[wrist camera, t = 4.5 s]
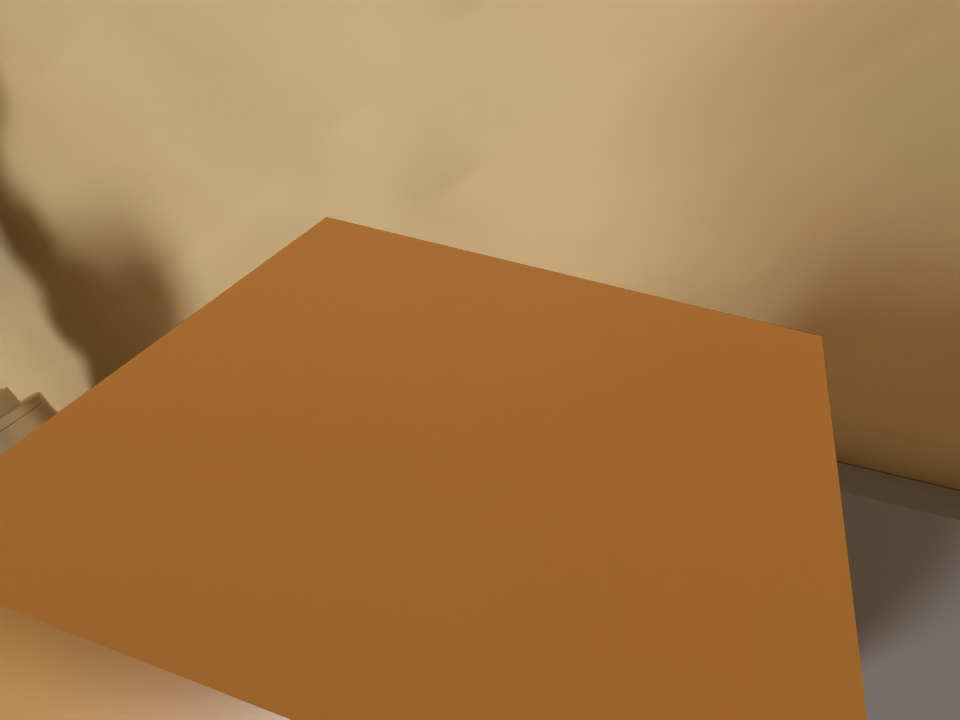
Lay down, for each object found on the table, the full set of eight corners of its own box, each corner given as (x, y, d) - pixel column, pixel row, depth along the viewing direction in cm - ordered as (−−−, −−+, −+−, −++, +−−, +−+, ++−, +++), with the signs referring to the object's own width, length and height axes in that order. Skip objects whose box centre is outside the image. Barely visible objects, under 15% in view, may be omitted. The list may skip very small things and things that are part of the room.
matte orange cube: (682, 668, 12) (620, 1227, 7) (328, 548, 13) (58, 947, 8) (821, 336, 8) (895, 957, 3) (326, 217, 10) (-135, 553, 5)
